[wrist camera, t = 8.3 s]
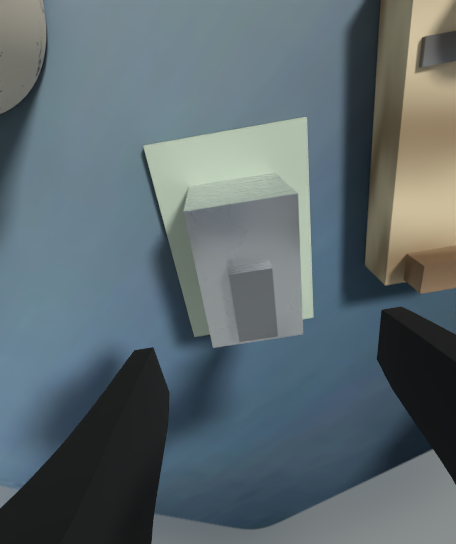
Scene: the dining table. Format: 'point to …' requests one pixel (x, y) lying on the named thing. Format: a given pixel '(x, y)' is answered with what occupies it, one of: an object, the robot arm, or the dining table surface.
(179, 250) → the mat
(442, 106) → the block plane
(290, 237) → the pale grey box
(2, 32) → the teacup with lid
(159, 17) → the dining table surface
